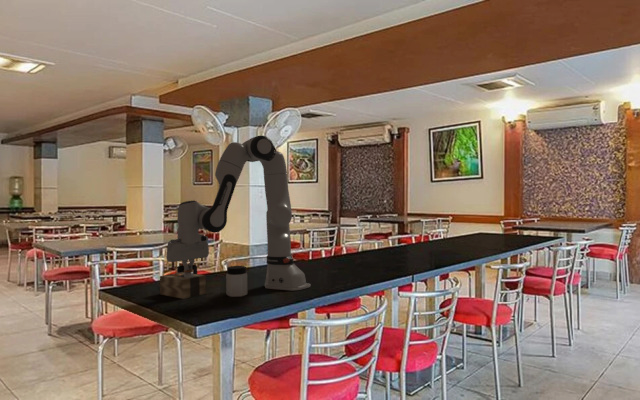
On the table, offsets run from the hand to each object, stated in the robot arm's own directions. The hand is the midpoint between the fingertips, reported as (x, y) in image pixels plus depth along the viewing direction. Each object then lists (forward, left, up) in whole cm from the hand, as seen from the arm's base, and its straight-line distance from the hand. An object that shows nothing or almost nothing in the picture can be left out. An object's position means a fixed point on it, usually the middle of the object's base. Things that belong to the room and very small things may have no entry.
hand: (188, 270), depth 202 cm
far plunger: (+8, 0, -10) cm, 13 cm away
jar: (-17, -12, -11) cm, 24 cm away
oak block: (+4, 0, -11) cm, 12 cm away
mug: (+18, -14, -11) cm, 25 cm away
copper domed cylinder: (0, 0, -7) cm, 8 cm away
